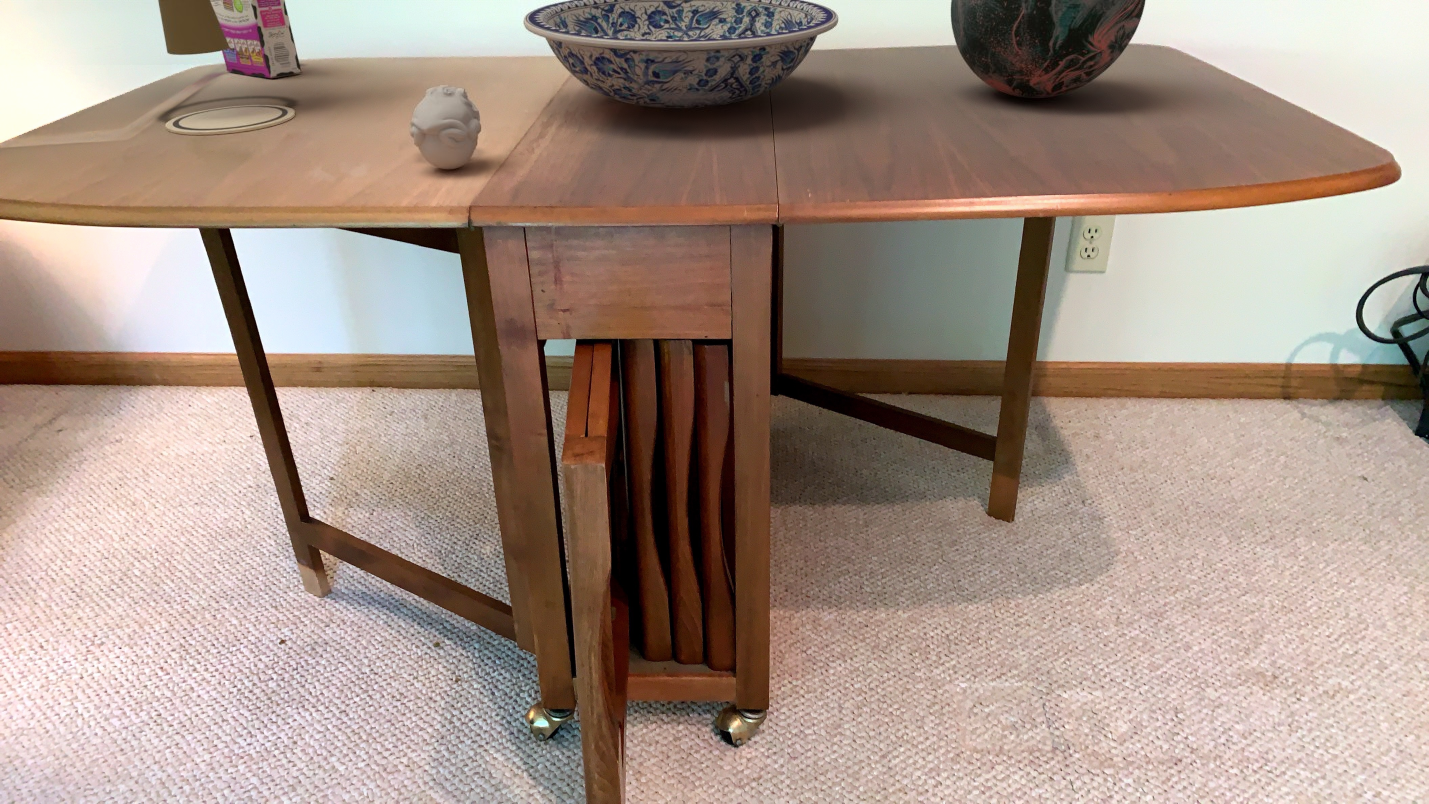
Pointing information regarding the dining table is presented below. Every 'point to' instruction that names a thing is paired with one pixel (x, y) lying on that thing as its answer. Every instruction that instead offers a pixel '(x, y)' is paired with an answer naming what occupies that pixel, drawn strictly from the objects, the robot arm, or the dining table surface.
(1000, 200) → the dining table surface
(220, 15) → the candy bar box
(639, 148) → the dining table surface
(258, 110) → the round coaster
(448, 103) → the frog figurine
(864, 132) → the dining table surface
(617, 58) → the ceramic bowl
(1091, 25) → the decorative sphere
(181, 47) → the cork
